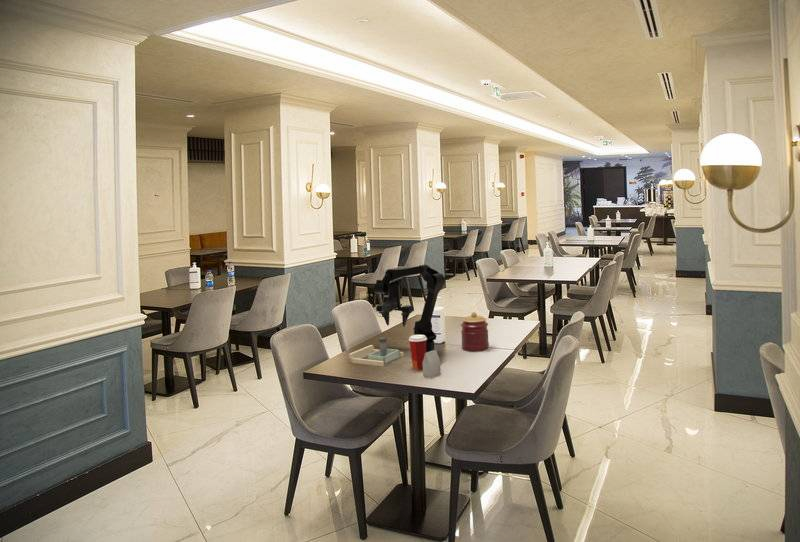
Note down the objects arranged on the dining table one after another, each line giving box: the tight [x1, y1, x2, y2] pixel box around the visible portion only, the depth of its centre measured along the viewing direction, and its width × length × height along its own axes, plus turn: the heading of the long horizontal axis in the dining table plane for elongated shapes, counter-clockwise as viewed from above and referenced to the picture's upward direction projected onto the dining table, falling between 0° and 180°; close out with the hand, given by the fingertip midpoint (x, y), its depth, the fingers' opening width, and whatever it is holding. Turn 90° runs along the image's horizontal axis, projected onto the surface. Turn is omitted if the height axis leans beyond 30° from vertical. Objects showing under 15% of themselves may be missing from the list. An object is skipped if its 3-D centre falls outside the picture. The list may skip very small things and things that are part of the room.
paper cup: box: [408, 334, 427, 371], centre depth 244 cm, size 8×8×14 cm
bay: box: [348, 344, 405, 367], centre depth 260 cm, size 18×18×5 cm
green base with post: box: [366, 336, 401, 366], centre depth 257 cm, size 9×13×10 cm
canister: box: [460, 311, 490, 352], centre depth 272 cm, size 13×13×18 cm
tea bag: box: [422, 349, 441, 379], centre depth 233 cm, size 4×7×10 cm, turn 136°
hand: (395, 325), depth 277 cm, fingers open, 9 cm apart
